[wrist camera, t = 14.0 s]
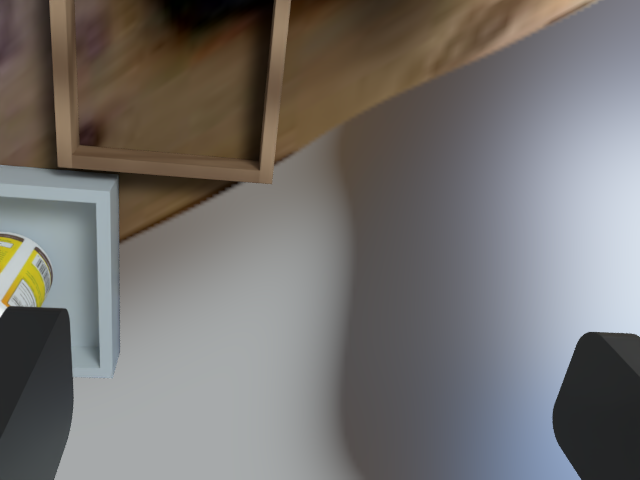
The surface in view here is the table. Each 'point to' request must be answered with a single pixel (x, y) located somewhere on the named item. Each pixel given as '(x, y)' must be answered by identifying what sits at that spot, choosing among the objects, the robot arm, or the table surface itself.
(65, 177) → the bin
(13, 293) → the supplement bottle
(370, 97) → the table surface
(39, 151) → the table surface
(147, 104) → the table surface
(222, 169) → the corral
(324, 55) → the table surface
